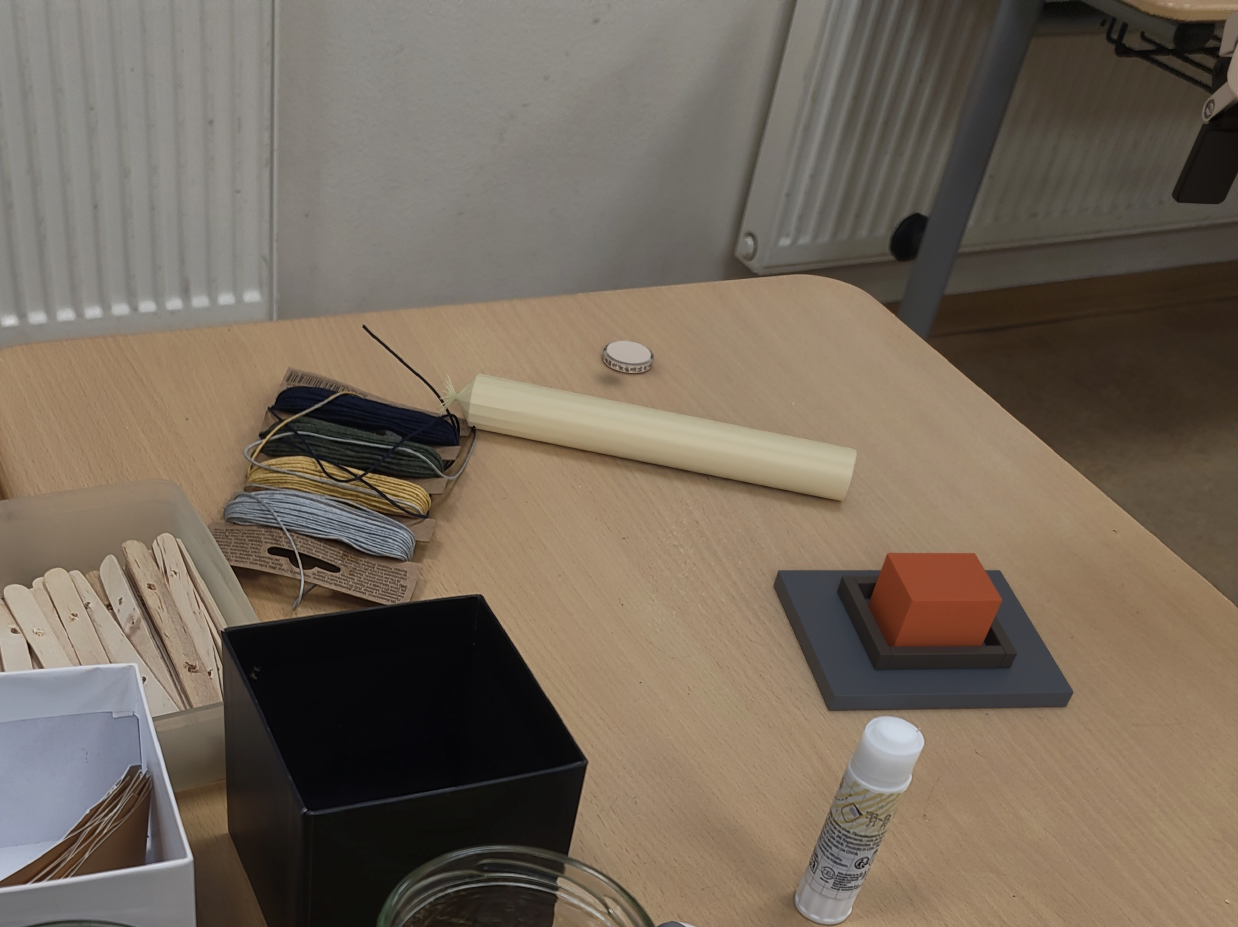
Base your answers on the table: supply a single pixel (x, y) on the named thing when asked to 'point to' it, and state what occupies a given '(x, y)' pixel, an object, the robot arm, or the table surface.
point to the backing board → (914, 652)
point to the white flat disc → (627, 356)
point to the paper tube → (655, 436)
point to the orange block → (934, 600)
